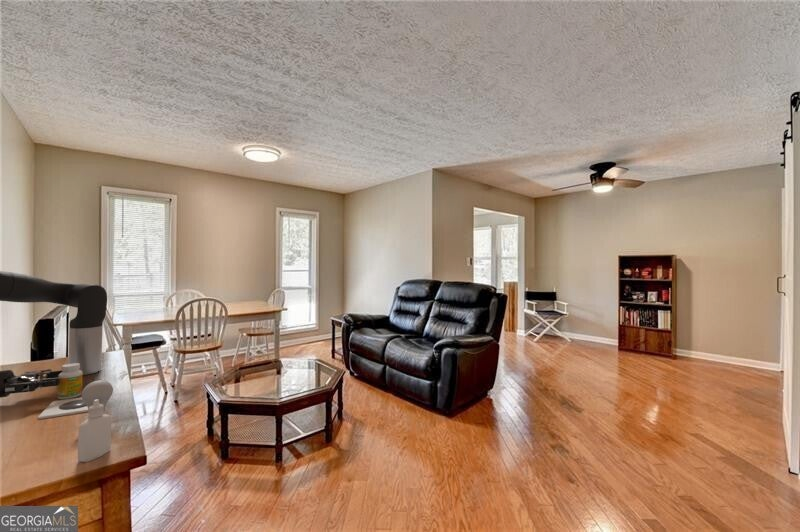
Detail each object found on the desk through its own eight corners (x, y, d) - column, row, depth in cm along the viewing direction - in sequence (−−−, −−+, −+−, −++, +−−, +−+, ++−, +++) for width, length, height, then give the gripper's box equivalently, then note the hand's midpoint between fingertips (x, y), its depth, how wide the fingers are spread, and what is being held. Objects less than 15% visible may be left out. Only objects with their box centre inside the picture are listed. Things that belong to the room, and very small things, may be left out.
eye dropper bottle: (74, 457, 72) (76, 401, 72) (108, 446, 77) (109, 393, 77) (79, 465, 70) (81, 406, 70) (114, 453, 74) (116, 398, 74)
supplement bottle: (66, 400, 102) (67, 367, 102) (52, 398, 103) (53, 366, 103) (86, 393, 107) (87, 363, 107) (73, 392, 108) (74, 361, 108)
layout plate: (53, 403, 99) (53, 400, 99) (110, 395, 106) (110, 393, 106) (37, 419, 89) (37, 416, 89) (102, 409, 96) (102, 407, 96)
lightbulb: (76, 430, 84) (77, 386, 84) (85, 420, 89) (86, 378, 89) (108, 426, 86) (109, 382, 86) (115, 416, 92) (116, 375, 92)
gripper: (-28, 379, 89) (56, 371, 98) (-2, 365, 102) (71, 359, 110) (-29, 408, 89) (55, 397, 98) (-3, 391, 102) (70, 382, 110)
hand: (64, 377), depth 104 cm, fingers open, 8 cm apart
